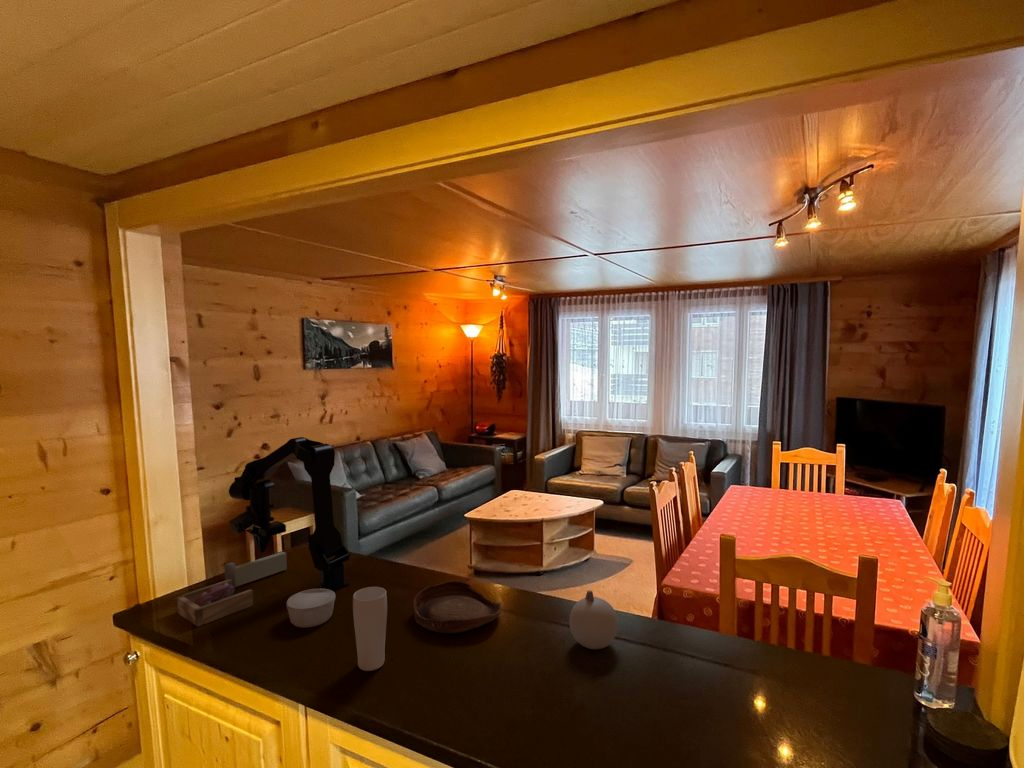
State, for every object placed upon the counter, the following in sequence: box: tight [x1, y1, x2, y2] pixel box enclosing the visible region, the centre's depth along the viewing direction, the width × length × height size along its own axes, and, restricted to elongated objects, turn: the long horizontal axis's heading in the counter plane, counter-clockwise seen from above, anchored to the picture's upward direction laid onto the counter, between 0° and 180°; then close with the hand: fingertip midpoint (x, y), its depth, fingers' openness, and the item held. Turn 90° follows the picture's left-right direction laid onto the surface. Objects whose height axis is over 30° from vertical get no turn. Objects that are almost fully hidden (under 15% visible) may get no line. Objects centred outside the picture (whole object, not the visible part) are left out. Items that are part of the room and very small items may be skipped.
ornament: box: [568, 589, 619, 650], centre depth 111 cm, size 10×10×12 cm
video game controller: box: [193, 583, 236, 607], centre depth 131 cm, size 10×5×7 cm, turn 156°
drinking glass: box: [352, 586, 388, 672], centre depth 105 cm, size 7×7×15 cm
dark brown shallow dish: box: [412, 580, 503, 634], centre depth 125 cm, size 22×20×5 cm
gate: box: [223, 551, 288, 589], centre depth 148 cm, size 17×3×6 cm, turn 144°
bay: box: [175, 579, 254, 627], centre depth 131 cm, size 12×13×4 cm
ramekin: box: [285, 588, 336, 629], centre depth 125 cm, size 11×11×5 cm
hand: (261, 552), depth 155 cm, fingers closed
